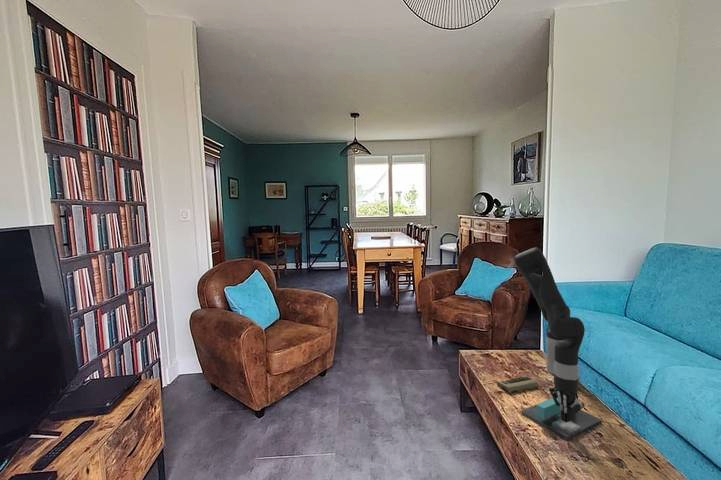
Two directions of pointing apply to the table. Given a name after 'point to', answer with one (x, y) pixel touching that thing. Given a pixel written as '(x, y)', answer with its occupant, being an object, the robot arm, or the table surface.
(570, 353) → the robot arm
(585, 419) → the board
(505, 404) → the table surface
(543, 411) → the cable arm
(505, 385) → the computer
